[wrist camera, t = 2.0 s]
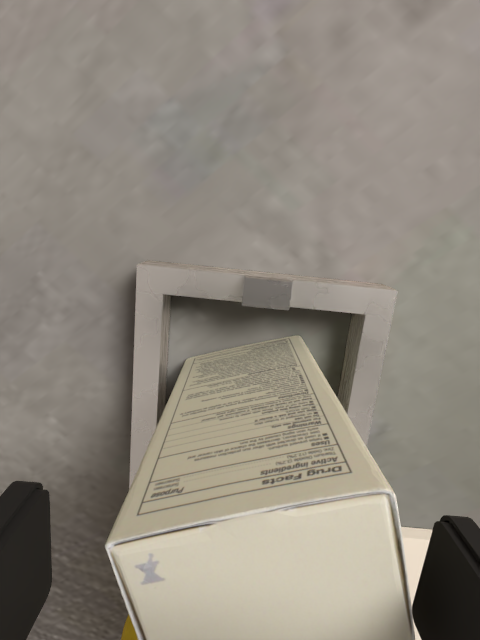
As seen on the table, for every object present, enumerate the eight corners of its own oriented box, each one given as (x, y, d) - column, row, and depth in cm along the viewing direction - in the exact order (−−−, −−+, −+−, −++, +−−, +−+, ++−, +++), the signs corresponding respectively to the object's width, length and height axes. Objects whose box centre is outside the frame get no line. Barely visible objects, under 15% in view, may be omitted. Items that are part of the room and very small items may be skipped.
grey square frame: (382, 283, 19) (405, 293, 16) (343, 485, 21) (357, 523, 19) (148, 260, 18) (131, 266, 16) (139, 466, 21) (124, 501, 18)
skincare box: (204, 429, 21) (148, 702, 9) (183, 353, 20) (89, 546, 8) (319, 407, 20) (423, 661, 8) (304, 328, 19) (398, 490, 7)
